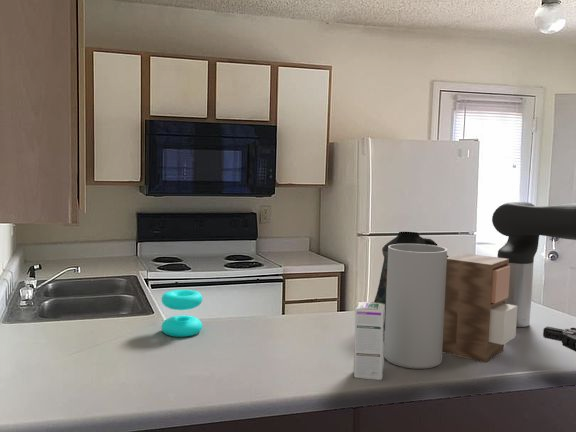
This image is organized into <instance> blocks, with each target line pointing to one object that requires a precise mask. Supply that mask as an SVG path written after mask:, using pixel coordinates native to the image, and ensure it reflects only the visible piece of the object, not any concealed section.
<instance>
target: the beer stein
mask: <svg viewBox="0 0 576 432" xmlns="http://www.w3.org/2000/svg"><path fill="white" fill-rule="evenodd" d="M394 244H425V245H434V246H438V243H437V242H435V241H434V240H433V239H431V238H426V237H425V238H424V237H422V236H420V233H419V232H417V231H416V232H415V231H399V232H398V234H397V236H396V237H394V238H392V239H391V240H390V241H387V243H386V244H385V245H384V246H383V247H382V249H381V250H382V255H383V262H382V267H381V272H380V278H379V284H378V286H377V287H378V288H377V291H376V294H375V298H374V301H373V302H377V303H383V304H385V316H386V290H387V264H388V246H389V245H394ZM447 257H450V256H449V255H448V254H447ZM384 332H385V325H384Z"/></svg>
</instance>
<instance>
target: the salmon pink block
mask: <svg viewBox="0 0 576 432" xmlns="http://www.w3.org/2000/svg"><path fill="white" fill-rule="evenodd" d="M509 277H510V266H505V265H502V266H499V267H496V268H493V273H492V291H491V303H497V302H499V301H501V300H504V299H506V298H508V294H509Z"/></svg>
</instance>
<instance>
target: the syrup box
mask: <svg viewBox="0 0 576 432" xmlns="http://www.w3.org/2000/svg"><path fill="white" fill-rule="evenodd" d="M354 311H355V312H354V317H355V318H354V351H353V352H354V360H353V363H354V364H353V376H354V378H356V379H362V380H363V379H364V380H374V381H376V380H378V381H382V379H383V377H384V370H385V369H384V365H385V363H384V362H385V356H384V341H385V331H384V325H385V304H383V303H377V302H374V301H358V302H357V304H356V306H355V310H354Z"/></svg>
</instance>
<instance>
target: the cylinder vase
mask: <svg viewBox="0 0 576 432" xmlns="http://www.w3.org/2000/svg"><path fill="white" fill-rule="evenodd" d="M447 255H448V248H447V247H443V246H438V245H437V246H434V245H425V244H394V245H389V246H388V264H387V290H386V316H385V331H384V359H385V360H387V361H388V362H389V363H391V364H393V365H395V366H399V367H402V368H407V369H415V370H417V369H419V370H420V369H421V370H423V369H431V368H435V367H437V366H439V365H440V364H441V363H442V360H443V352H442V346H443V326H444V306H445V285H446V265H447Z"/></svg>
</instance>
